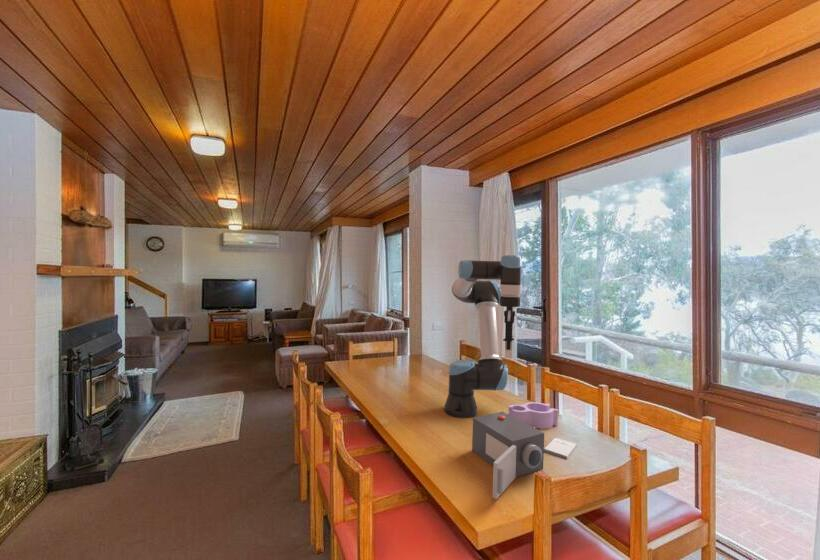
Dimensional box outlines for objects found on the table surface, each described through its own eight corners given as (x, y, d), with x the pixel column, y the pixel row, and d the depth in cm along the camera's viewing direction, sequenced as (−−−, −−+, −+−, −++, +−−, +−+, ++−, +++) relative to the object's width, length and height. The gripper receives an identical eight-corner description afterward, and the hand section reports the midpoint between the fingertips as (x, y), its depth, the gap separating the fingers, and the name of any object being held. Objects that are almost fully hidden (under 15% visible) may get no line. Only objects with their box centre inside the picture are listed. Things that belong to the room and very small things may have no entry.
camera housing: (471, 450, 132) (472, 415, 131) (501, 442, 138) (502, 409, 138) (518, 484, 111) (519, 442, 111) (550, 473, 118) (551, 434, 118)
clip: (516, 430, 149) (517, 414, 149) (504, 418, 162) (504, 403, 162) (561, 428, 153) (562, 412, 153) (545, 416, 165) (546, 401, 165)
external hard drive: (543, 452, 132) (554, 441, 142) (567, 460, 127) (576, 447, 137) (543, 448, 132) (554, 436, 142) (567, 456, 127) (577, 443, 137)
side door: (499, 500, 101) (500, 465, 101) (492, 497, 103) (493, 462, 102) (518, 478, 112) (519, 446, 112) (511, 476, 114) (512, 444, 113)
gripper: (500, 294, 145) (499, 353, 146) (498, 296, 133) (496, 360, 133) (520, 295, 143) (518, 355, 143) (520, 297, 130) (518, 362, 131)
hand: (508, 357), depth 138 cm, fingers closed
